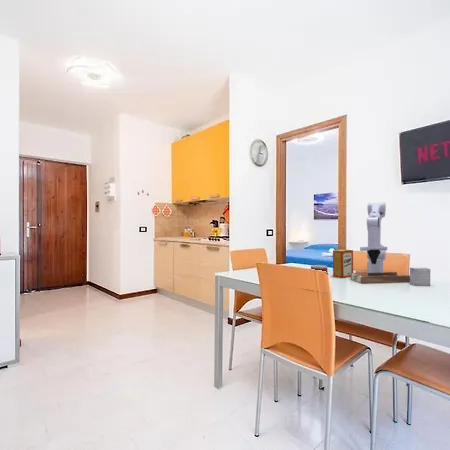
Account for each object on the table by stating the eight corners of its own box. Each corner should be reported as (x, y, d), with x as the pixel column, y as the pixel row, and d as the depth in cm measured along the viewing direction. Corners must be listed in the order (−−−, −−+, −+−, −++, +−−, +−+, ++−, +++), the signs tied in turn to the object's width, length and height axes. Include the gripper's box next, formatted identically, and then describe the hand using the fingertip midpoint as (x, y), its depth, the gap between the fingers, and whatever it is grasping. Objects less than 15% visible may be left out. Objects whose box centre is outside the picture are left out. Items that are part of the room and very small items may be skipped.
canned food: (315, 285, 157) (315, 264, 157) (330, 288, 152) (330, 265, 151) (307, 288, 152) (307, 266, 152) (322, 290, 146) (322, 267, 146)
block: (355, 277, 169) (355, 270, 169) (363, 276, 170) (363, 270, 170) (360, 278, 165) (360, 272, 165) (368, 278, 165) (368, 271, 165)
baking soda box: (342, 278, 177) (341, 250, 177) (333, 276, 182) (332, 249, 182) (353, 276, 181) (353, 249, 181) (344, 275, 187) (343, 248, 187)
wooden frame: (350, 279, 173) (350, 273, 173) (395, 278, 175) (395, 272, 175) (361, 283, 161) (361, 277, 161) (410, 282, 163) (410, 275, 163)
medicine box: (425, 284, 158) (425, 267, 158) (430, 286, 154) (430, 268, 154) (409, 284, 159) (409, 267, 159) (414, 285, 155) (413, 268, 154)
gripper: (364, 239, 164) (365, 265, 164) (390, 239, 165) (390, 264, 165) (358, 238, 171) (358, 263, 171) (382, 238, 172) (383, 262, 172)
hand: (373, 263), depth 168 cm, fingers closed
